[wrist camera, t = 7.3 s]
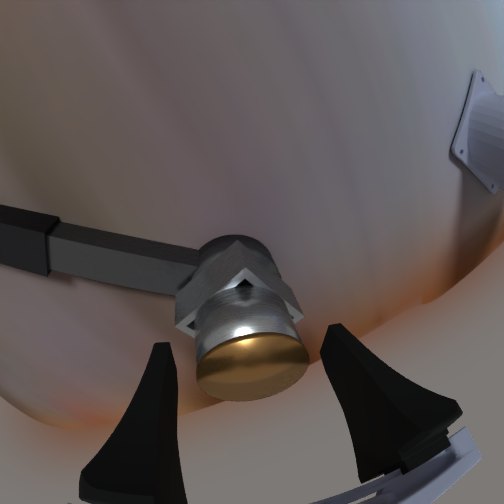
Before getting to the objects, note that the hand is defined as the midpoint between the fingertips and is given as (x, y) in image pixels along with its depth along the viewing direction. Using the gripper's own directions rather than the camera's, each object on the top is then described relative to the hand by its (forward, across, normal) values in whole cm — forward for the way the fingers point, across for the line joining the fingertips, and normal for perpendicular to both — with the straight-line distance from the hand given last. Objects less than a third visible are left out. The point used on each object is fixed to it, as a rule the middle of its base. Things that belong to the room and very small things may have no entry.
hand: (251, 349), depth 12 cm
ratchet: (+6, +8, -2) cm, 10 cm away
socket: (+4, 0, 0) cm, 4 cm away
